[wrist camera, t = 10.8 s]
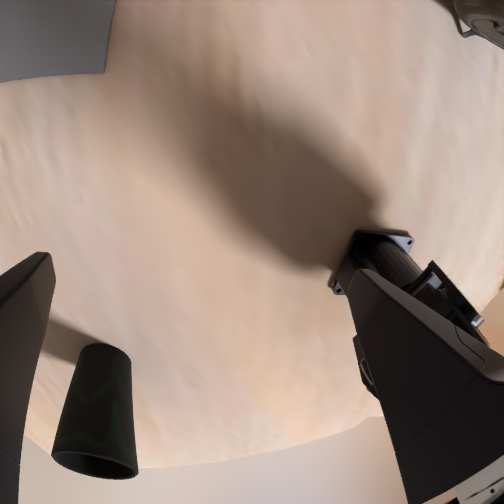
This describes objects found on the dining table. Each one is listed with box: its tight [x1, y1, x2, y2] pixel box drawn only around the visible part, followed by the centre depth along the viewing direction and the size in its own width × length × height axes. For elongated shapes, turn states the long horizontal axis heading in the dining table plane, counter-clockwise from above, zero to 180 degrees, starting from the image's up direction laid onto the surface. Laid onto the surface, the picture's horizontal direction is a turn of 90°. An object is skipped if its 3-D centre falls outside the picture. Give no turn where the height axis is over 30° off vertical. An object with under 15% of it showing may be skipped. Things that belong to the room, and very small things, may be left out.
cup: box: [51, 344, 138, 480], centre depth 24 cm, size 8×8×12 cm
